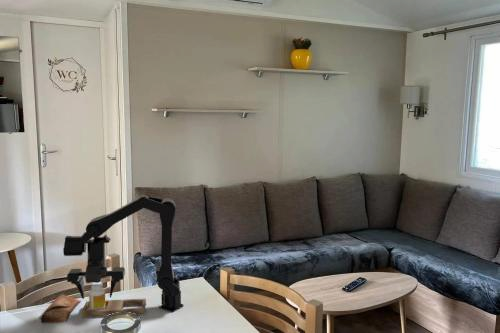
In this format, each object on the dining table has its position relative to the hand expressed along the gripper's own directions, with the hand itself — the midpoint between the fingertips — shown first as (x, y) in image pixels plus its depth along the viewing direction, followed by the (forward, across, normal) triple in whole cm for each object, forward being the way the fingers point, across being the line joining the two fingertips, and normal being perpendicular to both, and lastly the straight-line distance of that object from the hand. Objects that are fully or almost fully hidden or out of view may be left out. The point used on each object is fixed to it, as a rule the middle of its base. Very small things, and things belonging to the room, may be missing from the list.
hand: (97, 297), depth 155 cm
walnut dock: (+5, +6, 0) cm, 8 cm away
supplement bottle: (+5, 0, 0) cm, 5 cm away
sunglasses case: (+6, -12, +2) cm, 14 cm away
